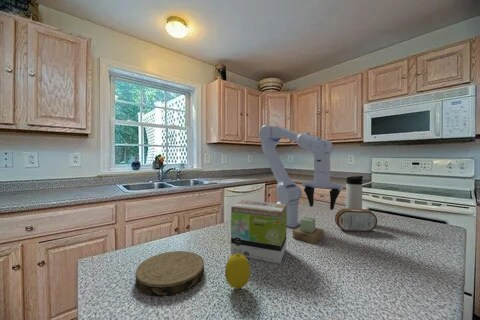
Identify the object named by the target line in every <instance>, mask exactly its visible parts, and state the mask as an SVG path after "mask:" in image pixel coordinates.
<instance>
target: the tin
mask: <svg viewBox="0 0 480 320" xmlns="http://www.w3.org/2000/svg"><path fill="white" fill-rule="evenodd" d="M334 221H335V224H336V226H337V227H338V228H340V230H343V231H345V232H361V233H363V232H365V233H369V232H371V231H374V230H375V229H376V227H377V225H378V218H377V216H376V214H375V213H374V212H372V210H369V209H366V208H362V209H346V208H342V209H340V210H338V211H337V212H336V214H335V216H334Z"/></svg>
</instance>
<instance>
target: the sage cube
mask: <svg viewBox="0 0 480 320" xmlns="http://www.w3.org/2000/svg"><path fill="white" fill-rule="evenodd" d="M299 221H300V224H299V227H300V231H304V232H309V233H312V232H313V231H314V230H315V228H316V218H314V217H307V216H303V217H302V218H300V220H299Z"/></svg>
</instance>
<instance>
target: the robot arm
mask: <svg viewBox="0 0 480 320" xmlns="http://www.w3.org/2000/svg"><path fill="white" fill-rule="evenodd" d="M260 127H261V128H260V129H259V132H258V137H259V139H260V143H261V150H262V152H263V155H264V157H265V159H266V161H267V163H268V165H269V167H270V170H271V173H272V174H273V176H274V178H275V180H276V182H277V185H276V187H275V190H276V193H277V194H276V195H277V199H278V201H277V202H276V203H278V204H287V226H286V227H291V228H297V226H298V227H299V226H300V220H299V203H300V202H299V201H300V199H301V198H302V194H303V193H302V190H301V189H300V187H299V186H298V185H297V183H296V182H295V181H294V180H292V179H290V176H289V175H288V172H287V171H286V168H285V167H284V164H283V162H282V160H281V158H280V156H279V154H278V152H277V150H276V147H277V145H278V144H279V142H280V141H281V140H282V138H286V139H288V140H291V141H294V142H296V144H297V146H298V147H300V148H303V149H305V150H308V151H310V152H311V153H312V154H313V181H302V182H301V185H302V186H301V188H303V191H304V193H305V195H306V197H307V200H308V203H309V204H308V205H309V207H310V208H312V207H314V202H315V201H314V200H315V199H314V194H315V189H323V190H329V197H330V199H329V201H330V204H329V209H330V211H333V210H334V209H335V204H336V201H337V198H338V197H339V195H340V193H341V192H342V191H343V190H344V185H343V184H338V183H337V184H336V183H331V153H332V152H333V150H334V145H333V143H332V142H331V141H330V140H328V139H322V138H321V137H320V136H315V135H311V132H308V131H307V132H302V133H300V134H299V133H297V132H295V131H293V130H290V129H288V128H286V127H282V126H277V125H276V126H274V125H268V124H264V125H262V126H260Z"/></svg>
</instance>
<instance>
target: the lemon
mask: <svg viewBox="0 0 480 320" xmlns="http://www.w3.org/2000/svg"><path fill="white" fill-rule="evenodd" d="M249 263H250V262H249V259H247V257H244V256H243V255H241V254H239V253H236V254H234V255H231V256H229V258H228V259H227V261H226V264H225V270H224V275H225V280H226V282H227V284H229V286H230V287H232V288H234V289H236V290H240V289H242V288H244V287H245V286H246V285H247V283H248V282H249V280H250V277H251V268H250V267H251V266H250V264H249Z"/></svg>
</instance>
